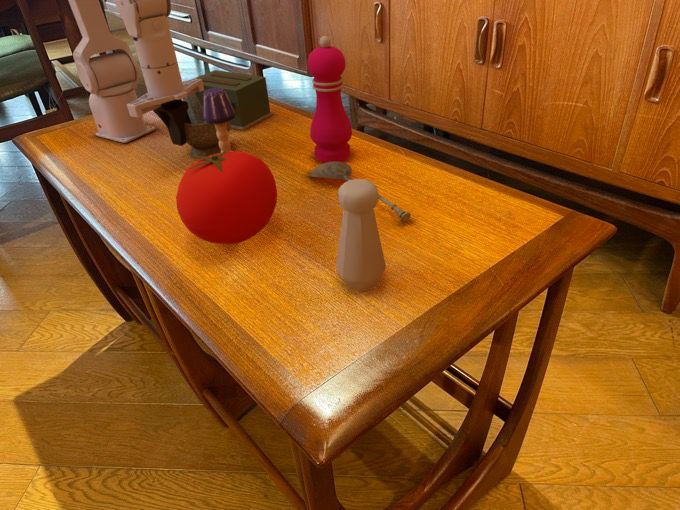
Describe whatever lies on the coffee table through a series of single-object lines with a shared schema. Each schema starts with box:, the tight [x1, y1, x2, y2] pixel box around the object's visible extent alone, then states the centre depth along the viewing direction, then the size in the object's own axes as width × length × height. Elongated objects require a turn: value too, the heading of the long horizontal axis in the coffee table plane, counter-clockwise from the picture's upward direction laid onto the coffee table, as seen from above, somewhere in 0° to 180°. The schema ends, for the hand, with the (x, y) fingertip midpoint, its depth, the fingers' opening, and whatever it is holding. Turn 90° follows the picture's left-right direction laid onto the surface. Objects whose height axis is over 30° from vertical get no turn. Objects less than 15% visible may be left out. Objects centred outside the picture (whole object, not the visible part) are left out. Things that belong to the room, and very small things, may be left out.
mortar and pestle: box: [182, 93, 231, 157], centre depth 91 cm, size 11×9×12 cm
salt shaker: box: [335, 178, 387, 293], centre depth 57 cm, size 6×6×13 cm
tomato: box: [175, 149, 278, 245], centre depth 67 cm, size 12×14×11 cm
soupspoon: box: [308, 161, 412, 224], centre depth 77 cm, size 22×3×7 cm
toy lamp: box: [203, 88, 236, 153], centre depth 74 cm, size 5×5×17 cm
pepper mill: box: [307, 35, 353, 164], centre depth 83 cm, size 7×7×20 cm
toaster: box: [195, 69, 273, 131], centre depth 105 cm, size 14×11×8 cm
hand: (179, 143), depth 88 cm, fingers closed
